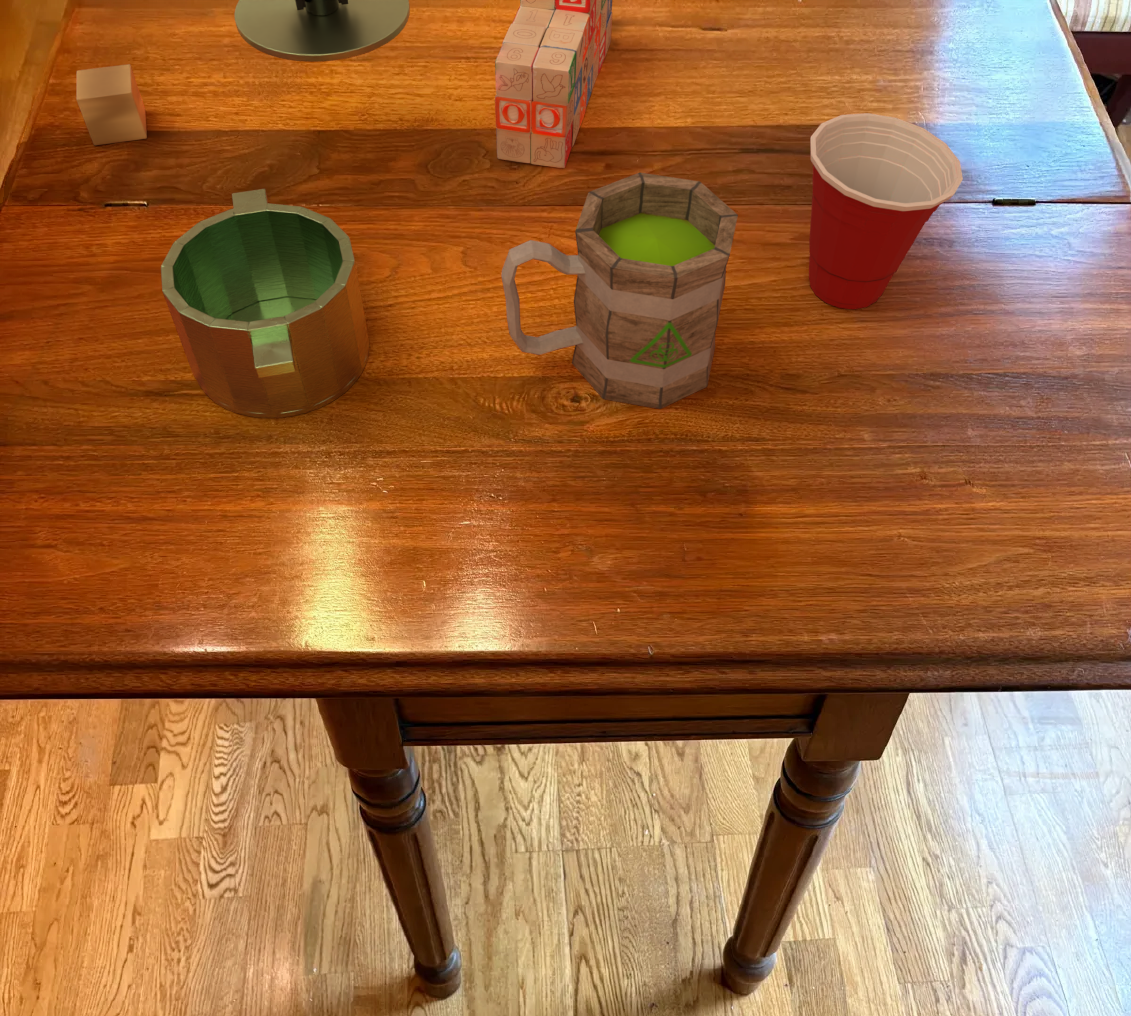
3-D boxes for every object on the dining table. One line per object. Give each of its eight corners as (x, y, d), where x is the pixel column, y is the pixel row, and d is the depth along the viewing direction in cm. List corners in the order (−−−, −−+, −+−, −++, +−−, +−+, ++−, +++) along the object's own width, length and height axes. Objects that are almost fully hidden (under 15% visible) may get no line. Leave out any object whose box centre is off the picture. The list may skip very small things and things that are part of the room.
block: (93, 146, 94) (75, 99, 90) (93, 116, 96) (76, 70, 93) (147, 139, 94) (131, 92, 91) (145, 110, 97) (130, 63, 93)
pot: (202, 462, 73) (167, 374, 66) (187, 287, 83) (155, 195, 76) (388, 428, 75) (372, 339, 68) (350, 261, 85) (334, 169, 78)
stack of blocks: (566, 171, 93) (569, 35, 83) (495, 161, 93) (490, 25, 83) (611, 41, 105) (618, -91, 95) (548, 33, 106) (549, -99, 96)
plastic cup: (934, 331, 82) (987, 199, 72) (793, 336, 81) (827, 204, 71) (898, 238, 88) (942, 106, 78) (767, 242, 87) (795, 109, 78)
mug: (697, 298, 83) (717, 165, 74) (734, 400, 77) (761, 269, 67) (495, 319, 81) (488, 186, 72) (515, 426, 75) (511, 295, 65)
